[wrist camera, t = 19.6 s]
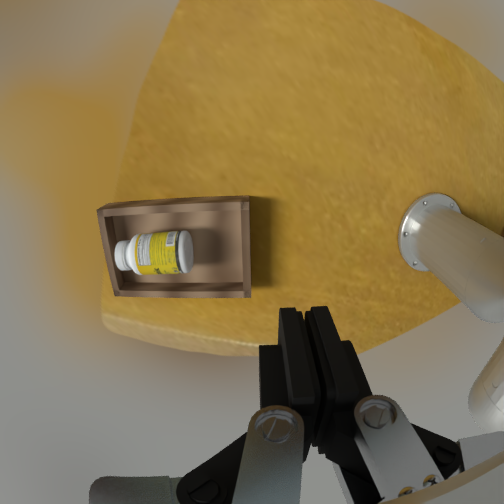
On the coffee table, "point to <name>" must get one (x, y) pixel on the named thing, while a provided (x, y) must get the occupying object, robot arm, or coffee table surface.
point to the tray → (204, 245)
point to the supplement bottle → (156, 253)
